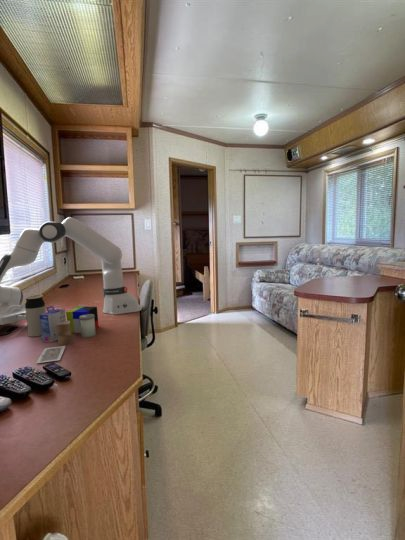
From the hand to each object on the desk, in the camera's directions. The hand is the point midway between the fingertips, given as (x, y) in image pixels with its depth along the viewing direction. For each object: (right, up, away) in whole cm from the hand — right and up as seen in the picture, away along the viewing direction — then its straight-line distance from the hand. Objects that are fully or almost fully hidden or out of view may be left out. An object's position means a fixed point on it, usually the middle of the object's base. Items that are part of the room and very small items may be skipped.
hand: (27, 317), depth 149 cm
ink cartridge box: (+18, -8, -11) cm, 23 cm away
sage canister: (+32, -7, -9) cm, 34 cm away
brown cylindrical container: (+26, -8, -18) cm, 32 cm away
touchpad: (+26, -11, -31) cm, 42 cm away
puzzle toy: (+27, -6, +1) cm, 27 cm away
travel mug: (+7, -7, -4) cm, 11 cm away
